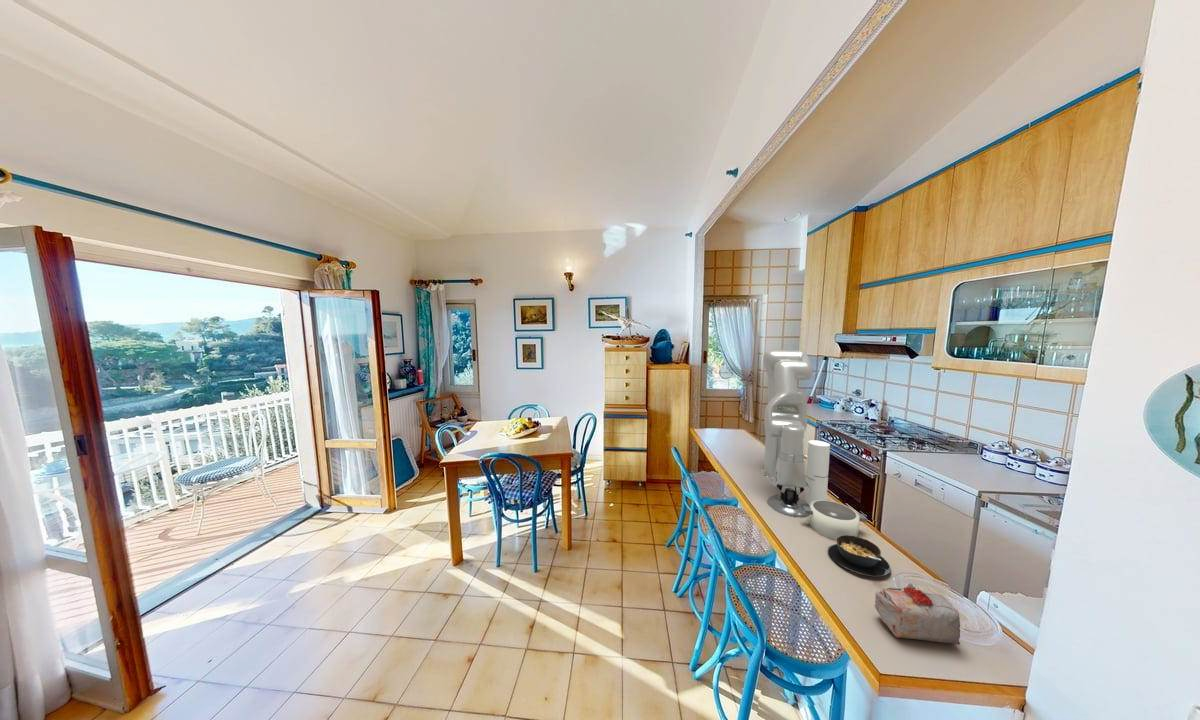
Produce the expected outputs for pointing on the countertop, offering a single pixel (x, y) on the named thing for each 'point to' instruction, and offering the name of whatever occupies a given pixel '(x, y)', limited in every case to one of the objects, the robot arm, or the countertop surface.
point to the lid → (788, 504)
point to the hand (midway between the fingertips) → (789, 501)
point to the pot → (833, 519)
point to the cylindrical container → (817, 470)
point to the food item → (918, 615)
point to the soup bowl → (859, 556)
